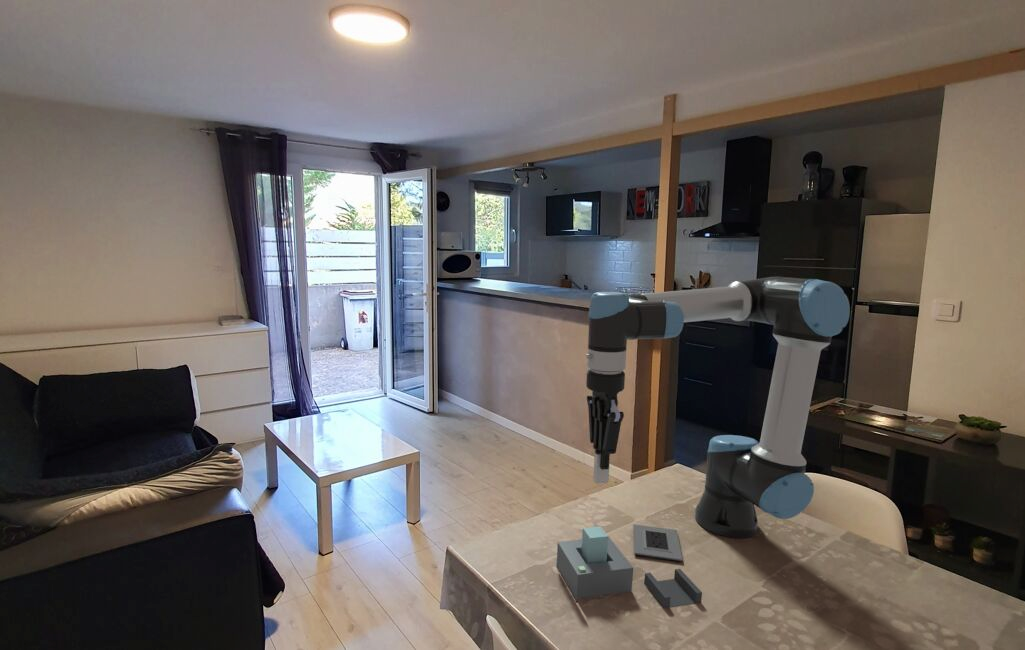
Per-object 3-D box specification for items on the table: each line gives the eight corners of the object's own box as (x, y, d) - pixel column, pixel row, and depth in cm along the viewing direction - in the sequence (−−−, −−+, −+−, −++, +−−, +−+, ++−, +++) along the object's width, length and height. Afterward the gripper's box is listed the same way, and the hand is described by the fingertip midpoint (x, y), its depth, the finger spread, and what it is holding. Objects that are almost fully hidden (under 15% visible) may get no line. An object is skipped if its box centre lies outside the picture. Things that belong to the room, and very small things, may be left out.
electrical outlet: (681, 568, 120) (682, 558, 119) (633, 561, 122) (634, 551, 121) (676, 537, 133) (677, 528, 132) (632, 531, 135) (633, 523, 134)
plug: (597, 569, 116) (600, 526, 114) (605, 580, 112) (608, 536, 110) (579, 571, 115) (582, 528, 113) (587, 583, 111) (590, 538, 109)
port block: (606, 561, 121) (608, 534, 120) (631, 594, 109) (633, 565, 108) (556, 567, 118) (557, 540, 117) (576, 602, 106) (577, 572, 105)
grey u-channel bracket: (679, 581, 114) (680, 568, 114) (701, 606, 107) (702, 592, 106) (643, 586, 112) (644, 573, 112) (663, 611, 104) (664, 597, 104)
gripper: (576, 363, 112) (572, 470, 116) (601, 378, 100) (596, 497, 103) (609, 361, 114) (604, 467, 118) (638, 376, 101) (632, 494, 105)
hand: (600, 481), depth 110 cm, fingers closed
